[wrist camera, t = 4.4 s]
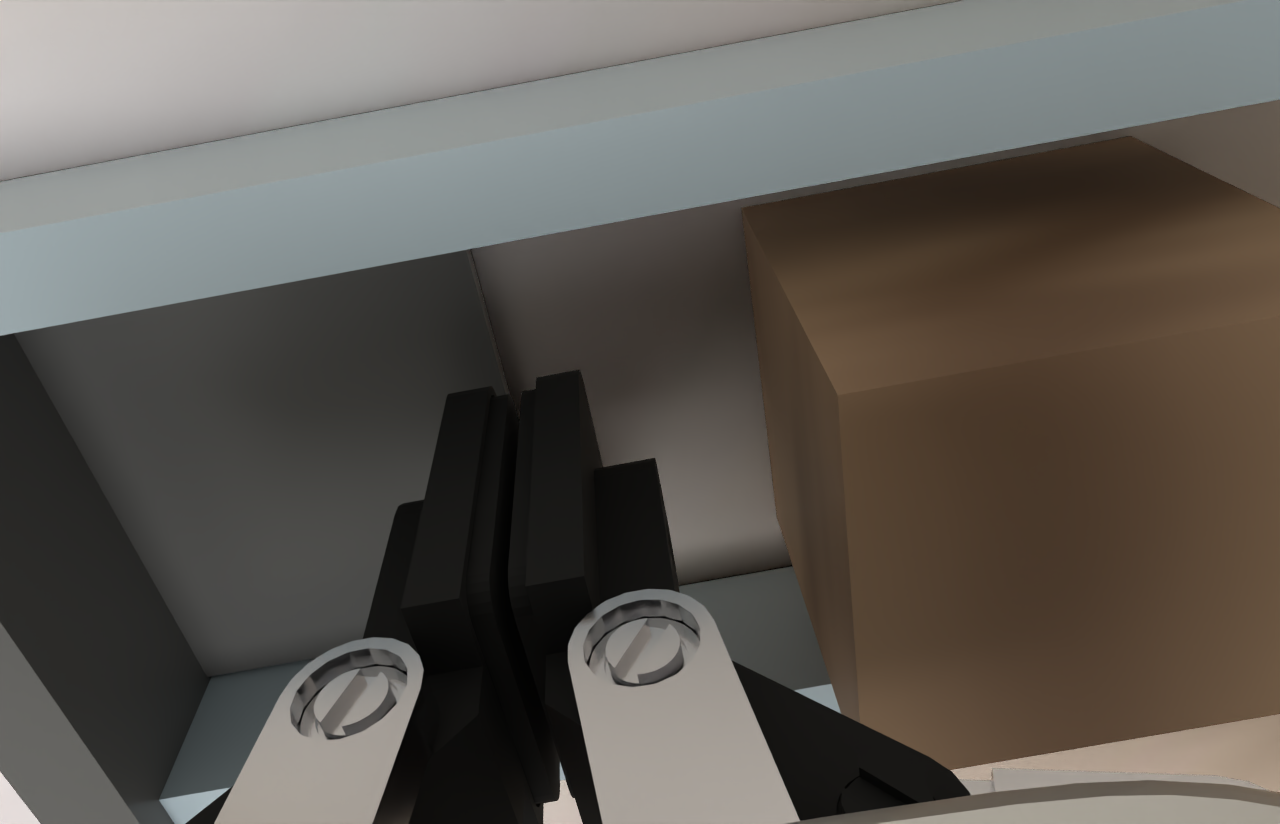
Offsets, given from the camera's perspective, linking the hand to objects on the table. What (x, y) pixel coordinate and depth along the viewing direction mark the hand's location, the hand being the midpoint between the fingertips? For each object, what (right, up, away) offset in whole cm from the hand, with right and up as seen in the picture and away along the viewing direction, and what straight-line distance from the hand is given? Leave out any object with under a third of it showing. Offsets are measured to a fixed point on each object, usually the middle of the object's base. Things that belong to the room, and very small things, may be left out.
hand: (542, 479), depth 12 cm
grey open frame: (+2, +1, +1) cm, 2 cm away
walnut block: (+5, +2, +1) cm, 6 cm away
